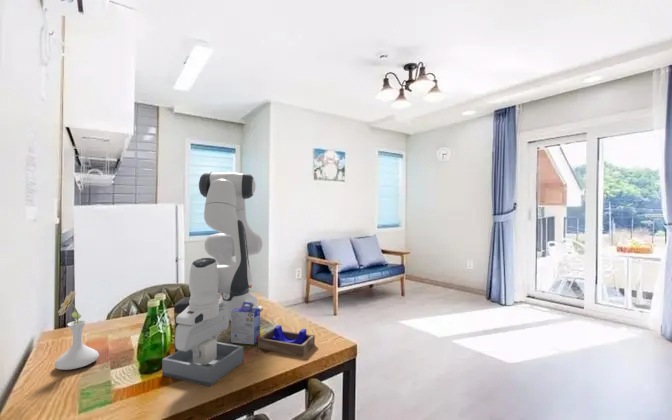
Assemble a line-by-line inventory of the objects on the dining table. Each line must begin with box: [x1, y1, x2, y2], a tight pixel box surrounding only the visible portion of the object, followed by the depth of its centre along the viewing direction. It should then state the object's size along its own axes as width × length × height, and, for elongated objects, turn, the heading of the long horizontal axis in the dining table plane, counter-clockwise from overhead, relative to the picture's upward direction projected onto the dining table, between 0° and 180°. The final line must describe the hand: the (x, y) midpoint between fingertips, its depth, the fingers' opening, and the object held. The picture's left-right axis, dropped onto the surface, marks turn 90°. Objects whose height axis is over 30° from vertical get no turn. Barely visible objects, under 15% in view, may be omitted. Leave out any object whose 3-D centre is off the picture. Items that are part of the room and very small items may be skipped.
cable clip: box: [272, 324, 307, 345], centre depth 122 cm, size 12×4×6 cm, turn 70°
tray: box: [161, 341, 245, 387], centre depth 104 cm, size 16×18×5 cm
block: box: [193, 338, 218, 365], centre depth 104 cm, size 5×5×6 cm
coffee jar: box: [173, 296, 191, 353], centre depth 117 cm, size 10×8×19 cm
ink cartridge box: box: [230, 302, 261, 345], centre depth 125 cm, size 10×6×14 cm, turn 78°
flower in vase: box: [54, 290, 100, 371], centre depth 106 cm, size 13×11×25 cm
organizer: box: [257, 328, 316, 357], centre depth 120 cm, size 10×18×4 cm, turn 70°
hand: (204, 353), depth 104 cm, fingers closed on block, 5 cm apart
